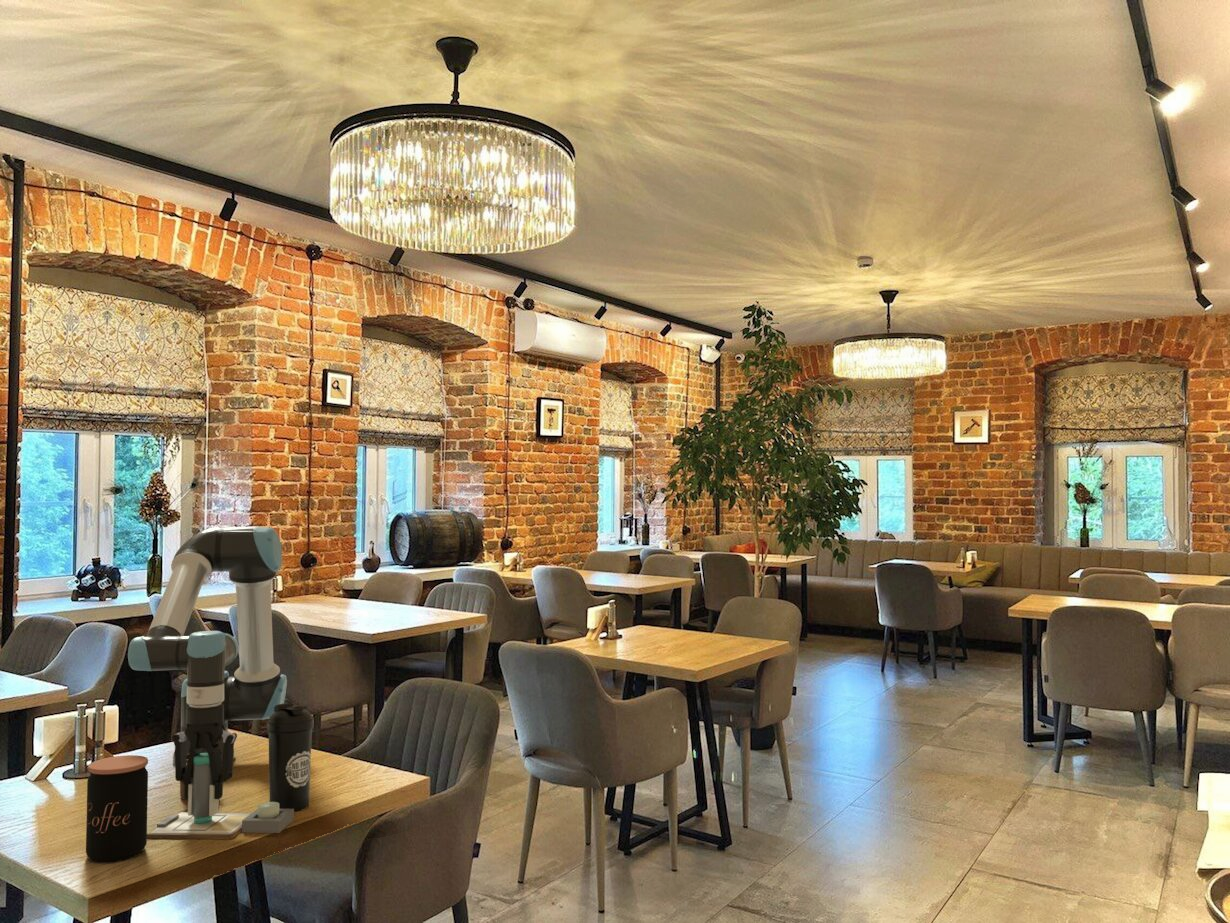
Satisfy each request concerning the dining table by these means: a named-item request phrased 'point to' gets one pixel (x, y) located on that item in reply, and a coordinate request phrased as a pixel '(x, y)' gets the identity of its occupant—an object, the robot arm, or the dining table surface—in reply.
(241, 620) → the robot arm
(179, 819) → the board
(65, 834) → the dining table surface
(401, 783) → the dining table surface
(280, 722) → the water bottle
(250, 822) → the button housing
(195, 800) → the marker
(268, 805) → the button
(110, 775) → the coffee jar
